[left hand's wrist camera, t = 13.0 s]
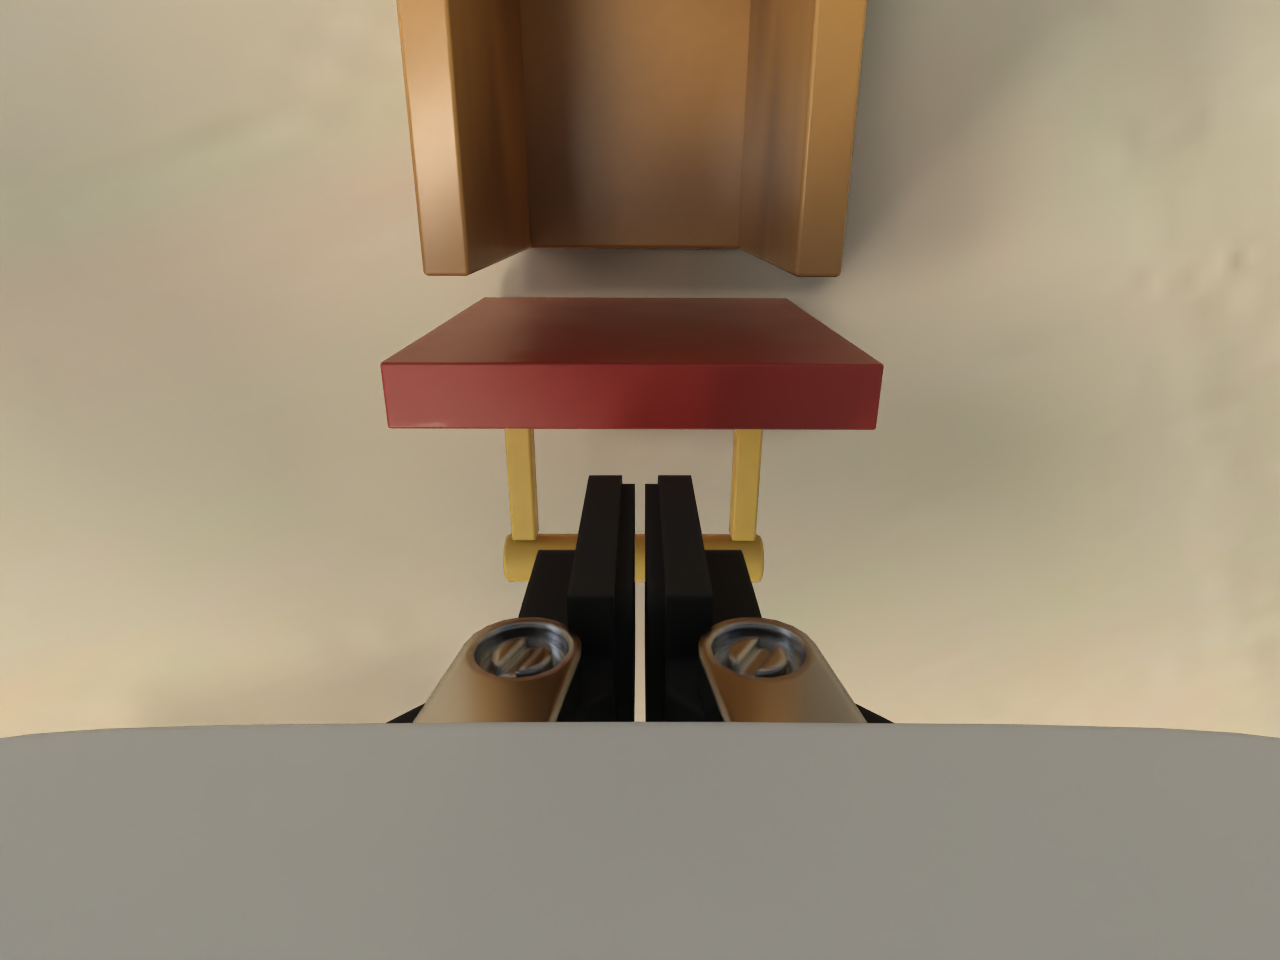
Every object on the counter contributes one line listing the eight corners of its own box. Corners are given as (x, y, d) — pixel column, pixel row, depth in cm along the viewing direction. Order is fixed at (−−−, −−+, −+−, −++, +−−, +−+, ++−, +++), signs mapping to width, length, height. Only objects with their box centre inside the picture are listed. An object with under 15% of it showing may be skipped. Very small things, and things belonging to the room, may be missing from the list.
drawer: (771, 502, 23) (845, 673, 15) (498, 501, 23) (418, 672, 15) (859, -684, 14) (1174, -1953, 6) (412, -686, 14) (85, -1959, 6)
